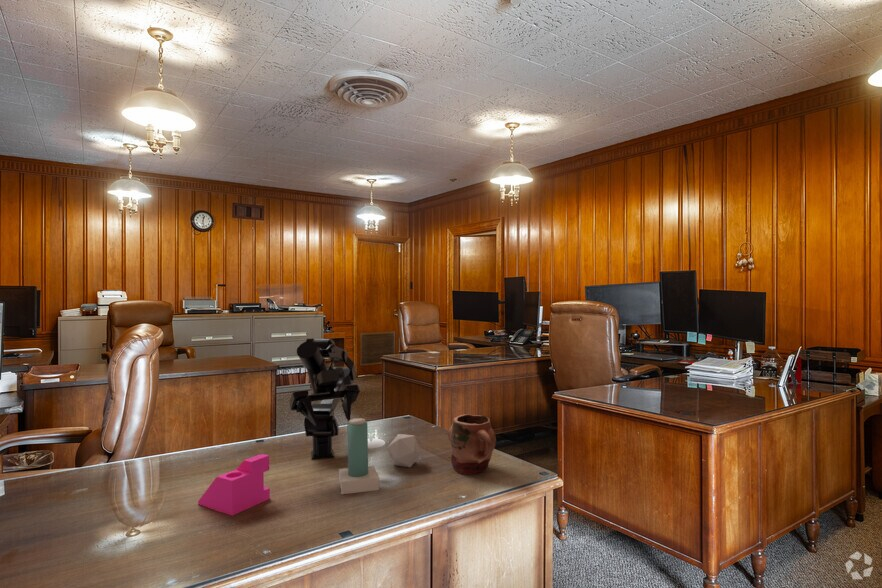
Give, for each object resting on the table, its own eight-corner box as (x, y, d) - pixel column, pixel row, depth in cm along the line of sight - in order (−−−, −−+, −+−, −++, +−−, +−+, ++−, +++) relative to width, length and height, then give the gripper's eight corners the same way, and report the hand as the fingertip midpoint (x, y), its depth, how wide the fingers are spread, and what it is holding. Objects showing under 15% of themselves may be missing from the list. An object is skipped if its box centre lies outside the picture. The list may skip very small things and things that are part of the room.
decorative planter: (514, 477, 130) (513, 423, 130) (474, 486, 124) (473, 430, 124) (472, 456, 148) (472, 408, 148) (436, 463, 142) (435, 414, 142)
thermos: (344, 473, 126) (343, 420, 126) (361, 468, 130) (360, 416, 130) (355, 478, 123) (354, 423, 123) (372, 473, 126) (371, 420, 126)
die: (426, 464, 143) (414, 431, 148) (422, 457, 135) (410, 423, 140) (398, 476, 142) (387, 443, 147) (393, 470, 135) (381, 435, 139)
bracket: (269, 499, 119) (269, 455, 119) (232, 516, 110) (231, 468, 110) (236, 489, 125) (235, 448, 125) (198, 505, 116) (197, 460, 116)
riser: (339, 480, 129) (339, 469, 129) (374, 477, 132) (374, 465, 132) (341, 494, 121) (341, 481, 121) (379, 490, 123) (378, 477, 123)
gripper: (291, 361, 135) (304, 410, 125) (357, 355, 144) (373, 400, 135) (284, 386, 141) (296, 434, 132) (347, 379, 151) (362, 424, 142)
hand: (333, 422), depth 135 cm, fingers open, 9 cm apart
